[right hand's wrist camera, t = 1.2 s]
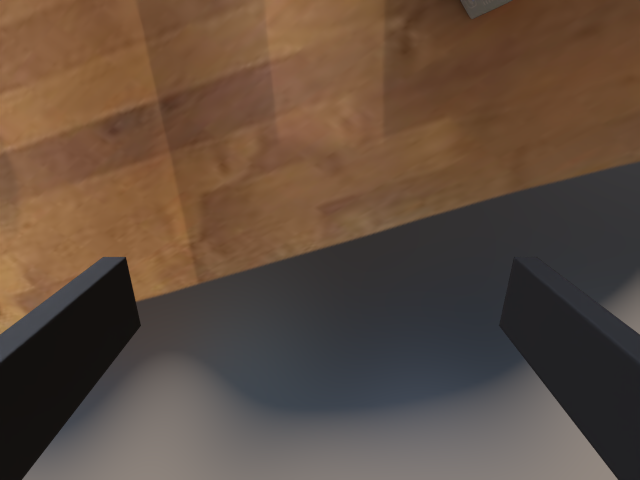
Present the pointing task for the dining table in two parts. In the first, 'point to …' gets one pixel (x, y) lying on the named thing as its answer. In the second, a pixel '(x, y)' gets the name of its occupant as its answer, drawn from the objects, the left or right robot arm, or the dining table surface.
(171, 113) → the dining table surface
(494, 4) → the hard drive box
